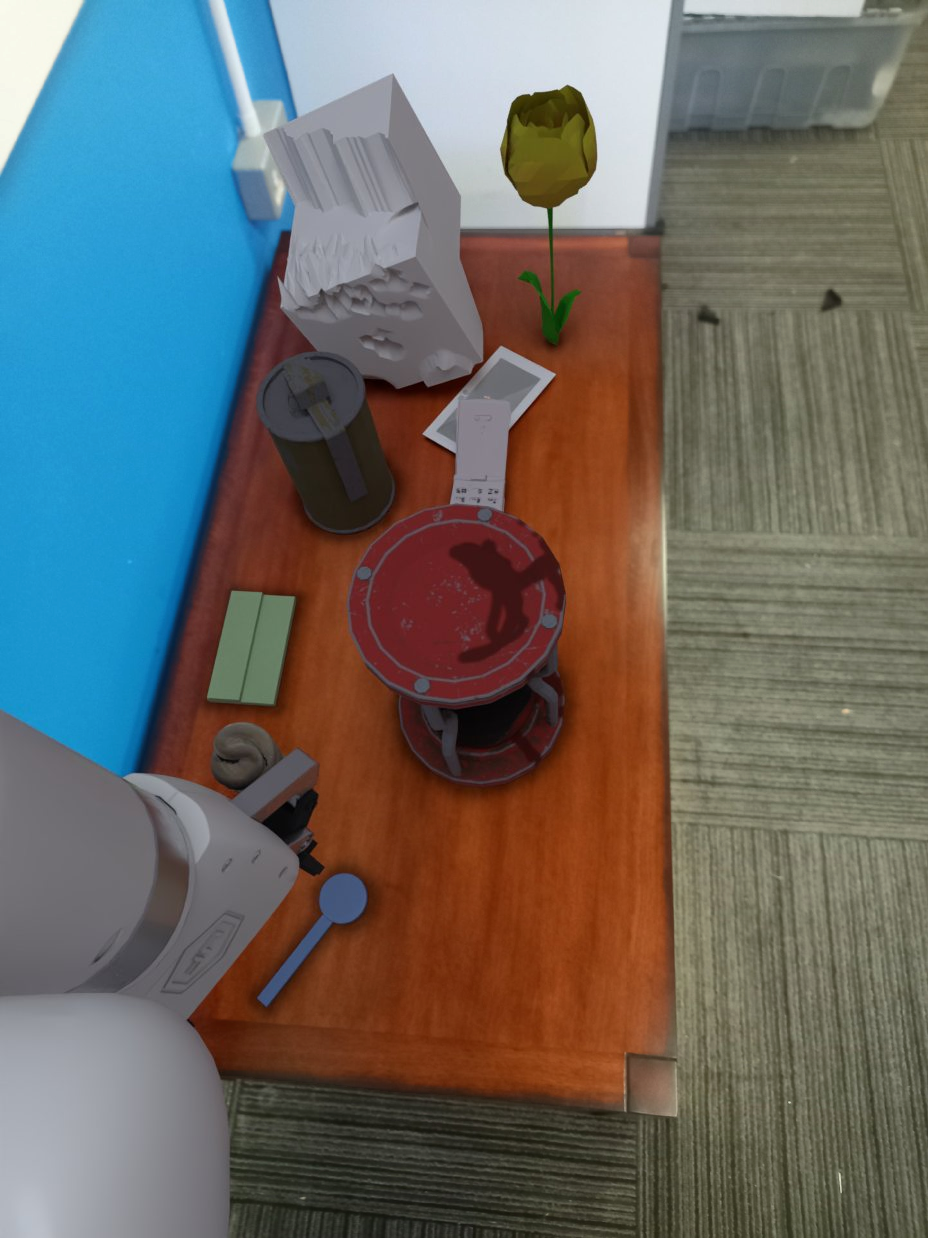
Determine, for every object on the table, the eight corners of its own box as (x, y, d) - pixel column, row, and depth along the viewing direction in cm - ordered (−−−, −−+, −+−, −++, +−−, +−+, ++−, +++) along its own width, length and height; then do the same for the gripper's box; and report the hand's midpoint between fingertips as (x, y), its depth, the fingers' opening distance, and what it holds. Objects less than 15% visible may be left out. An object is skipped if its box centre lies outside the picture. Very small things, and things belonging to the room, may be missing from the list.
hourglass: (537, 809, 83) (529, 729, 60) (377, 760, 86) (312, 666, 64) (583, 655, 89) (591, 528, 66) (432, 614, 92) (390, 481, 69)
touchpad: (556, 380, 103) (556, 367, 101) (478, 471, 99) (476, 460, 97) (501, 351, 105) (500, 339, 103) (423, 439, 101) (420, 428, 99)
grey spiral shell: (258, 768, 87) (202, 721, 73) (313, 761, 87) (267, 712, 73) (258, 826, 85) (201, 788, 71) (315, 819, 84) (268, 779, 71)
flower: (575, 306, 107) (580, 62, 80) (597, 356, 104) (610, 119, 77) (506, 326, 107) (488, 88, 80) (526, 376, 104) (514, 146, 76)
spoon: (281, 1019, 77) (278, 1019, 77) (245, 986, 79) (242, 986, 78) (378, 894, 81) (376, 893, 80) (342, 864, 82) (340, 863, 82)
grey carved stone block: (494, 387, 100) (383, 219, 80) (372, 423, 106) (239, 276, 86) (494, 254, 109) (394, 72, 88) (381, 295, 115) (262, 133, 94)
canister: (288, 482, 101) (229, 363, 83) (369, 440, 102) (328, 314, 84) (329, 553, 96) (276, 444, 78) (413, 508, 98) (380, 391, 80)
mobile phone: (512, 397, 95) (487, 607, 85) (515, 431, 101) (492, 632, 90) (456, 396, 96) (425, 604, 86) (462, 429, 101) (434, 629, 91)
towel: (275, 706, 90) (271, 702, 88) (209, 702, 90) (204, 697, 89) (297, 599, 94) (293, 593, 93) (233, 596, 95) (229, 590, 94)
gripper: (-61, 1203, 26) (168, 1137, 42) (321, 747, 31) (400, 839, 47) (-199, 1031, 29) (66, 1029, 44) (175, 632, 34) (297, 756, 49)
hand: (237, 931), depth 45 cm, fingers open, 9 cm apart
